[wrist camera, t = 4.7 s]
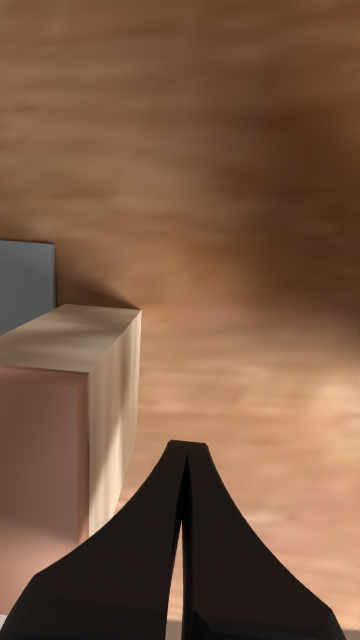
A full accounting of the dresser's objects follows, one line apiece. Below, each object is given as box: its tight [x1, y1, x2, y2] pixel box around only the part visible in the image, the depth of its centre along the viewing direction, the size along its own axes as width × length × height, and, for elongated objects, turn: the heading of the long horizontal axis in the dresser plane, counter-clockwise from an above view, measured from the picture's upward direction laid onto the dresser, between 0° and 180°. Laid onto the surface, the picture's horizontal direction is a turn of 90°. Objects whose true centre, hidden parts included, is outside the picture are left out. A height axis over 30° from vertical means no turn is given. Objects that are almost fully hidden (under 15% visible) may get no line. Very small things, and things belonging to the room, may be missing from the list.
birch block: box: [0, 304, 141, 615], centre depth 14 cm, size 4×8×9 cm, turn 176°
